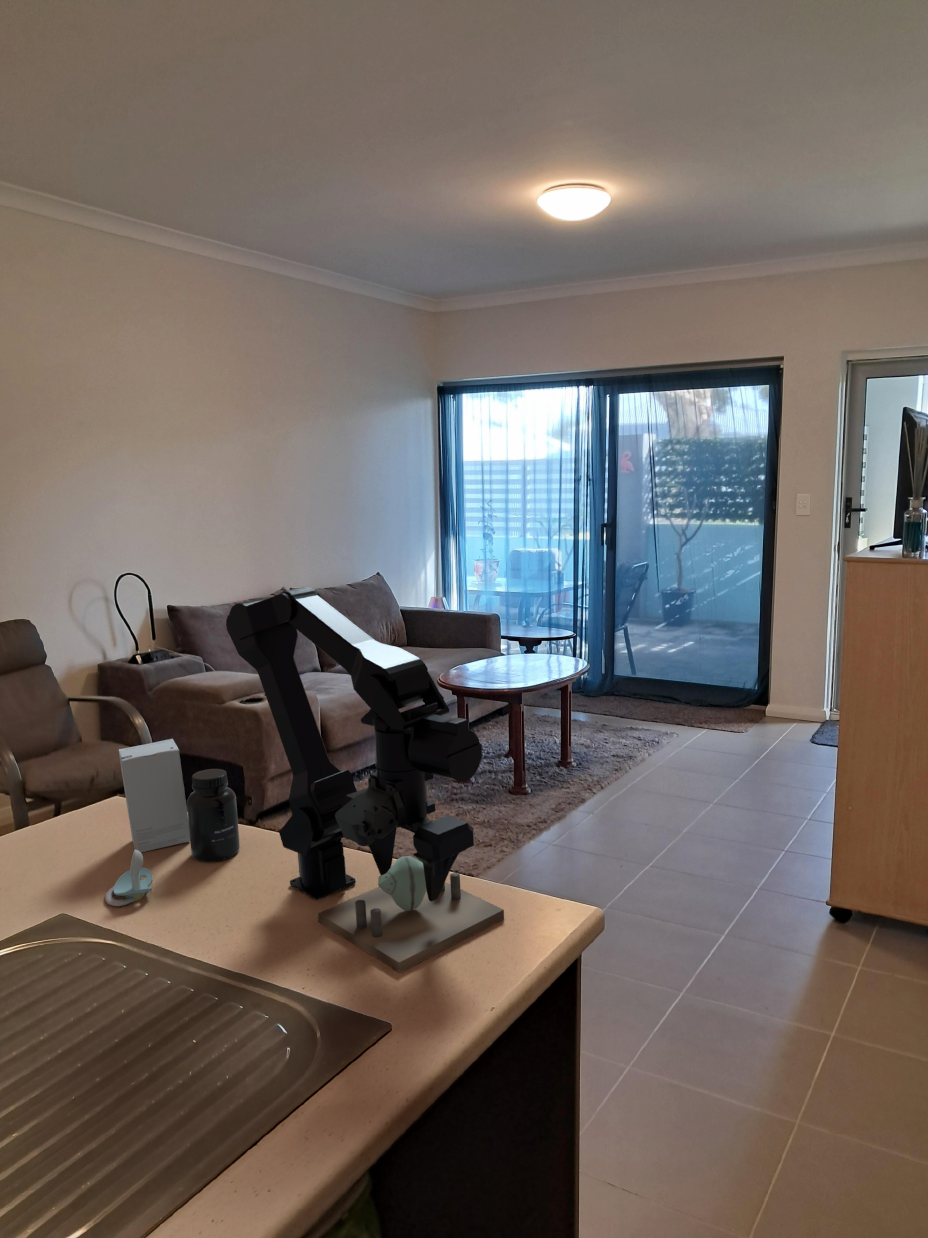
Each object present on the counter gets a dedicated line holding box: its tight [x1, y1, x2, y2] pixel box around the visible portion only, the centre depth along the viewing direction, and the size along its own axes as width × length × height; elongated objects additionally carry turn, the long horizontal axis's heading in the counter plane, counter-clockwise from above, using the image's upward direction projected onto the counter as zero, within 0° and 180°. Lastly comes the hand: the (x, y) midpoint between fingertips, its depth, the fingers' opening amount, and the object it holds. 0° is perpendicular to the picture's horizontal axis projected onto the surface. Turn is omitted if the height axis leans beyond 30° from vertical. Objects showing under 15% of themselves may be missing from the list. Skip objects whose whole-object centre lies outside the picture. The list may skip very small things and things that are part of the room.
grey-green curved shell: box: [377, 855, 427, 911], centre depth 113 cm, size 8×4×7 cm, turn 111°
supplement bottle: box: [186, 768, 241, 863], centre depth 134 cm, size 7×7×12 cm
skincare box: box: [118, 738, 190, 853], centre depth 139 cm, size 8×6×15 cm
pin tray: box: [317, 872, 505, 973], centre depth 113 cm, size 16×16×4 cm
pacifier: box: [104, 849, 153, 907], centre depth 123 cm, size 7×6×6 cm
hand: (408, 887), depth 113 cm, fingers open, 9 cm apart
